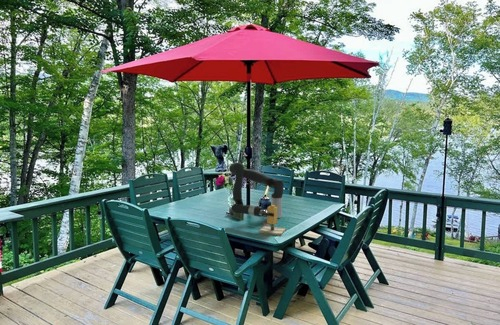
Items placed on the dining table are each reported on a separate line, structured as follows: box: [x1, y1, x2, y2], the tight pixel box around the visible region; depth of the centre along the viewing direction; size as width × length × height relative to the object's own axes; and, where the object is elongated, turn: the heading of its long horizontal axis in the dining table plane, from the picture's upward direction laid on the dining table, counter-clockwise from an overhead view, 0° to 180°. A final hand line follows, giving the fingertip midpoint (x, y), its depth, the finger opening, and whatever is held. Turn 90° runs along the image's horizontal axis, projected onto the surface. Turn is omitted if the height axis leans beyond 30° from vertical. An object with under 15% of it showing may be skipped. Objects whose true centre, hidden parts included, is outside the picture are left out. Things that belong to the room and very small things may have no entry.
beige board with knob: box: [258, 224, 287, 237], centre depth 248 cm, size 14×17×6 cm
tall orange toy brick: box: [266, 204, 278, 225], centre depth 246 cm, size 6×6×13 cm
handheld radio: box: [225, 207, 245, 221], centre depth 289 cm, size 7×3×25 cm
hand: (275, 214), depth 245 cm, fingers closed on tall orange toy brick, 5 cm apart
